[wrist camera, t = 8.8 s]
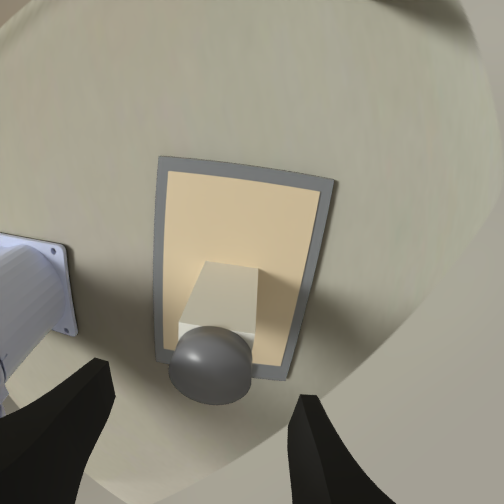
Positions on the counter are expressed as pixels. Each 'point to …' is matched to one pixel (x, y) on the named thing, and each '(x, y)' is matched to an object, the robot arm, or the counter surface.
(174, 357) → the block with domed cap
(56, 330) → the robot arm
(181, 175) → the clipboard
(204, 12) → the counter surface
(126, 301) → the counter surface
